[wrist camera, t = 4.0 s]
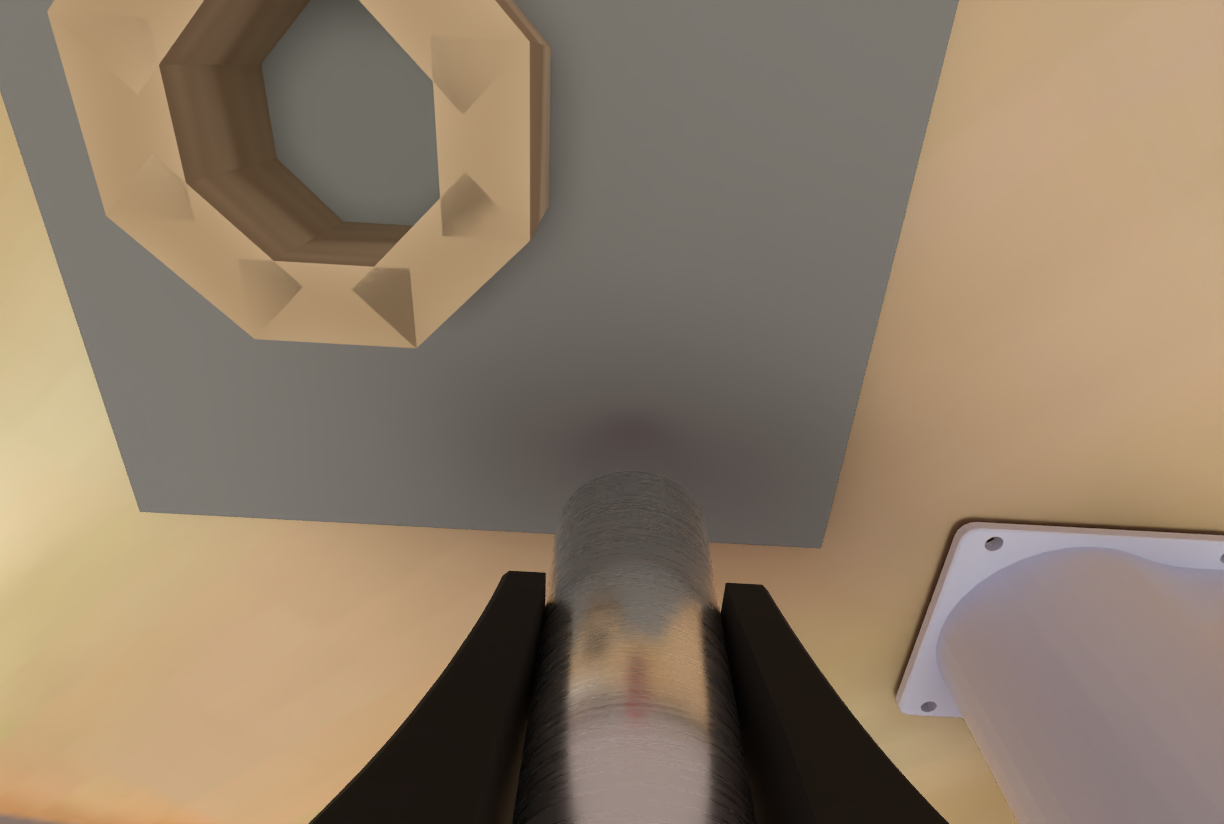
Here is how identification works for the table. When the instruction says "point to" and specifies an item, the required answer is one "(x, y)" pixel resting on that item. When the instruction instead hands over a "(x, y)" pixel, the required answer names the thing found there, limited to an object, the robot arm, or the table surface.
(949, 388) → the table surface
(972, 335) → the table surface
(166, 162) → the beech bead
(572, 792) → the steel peg
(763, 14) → the charcoal mat
